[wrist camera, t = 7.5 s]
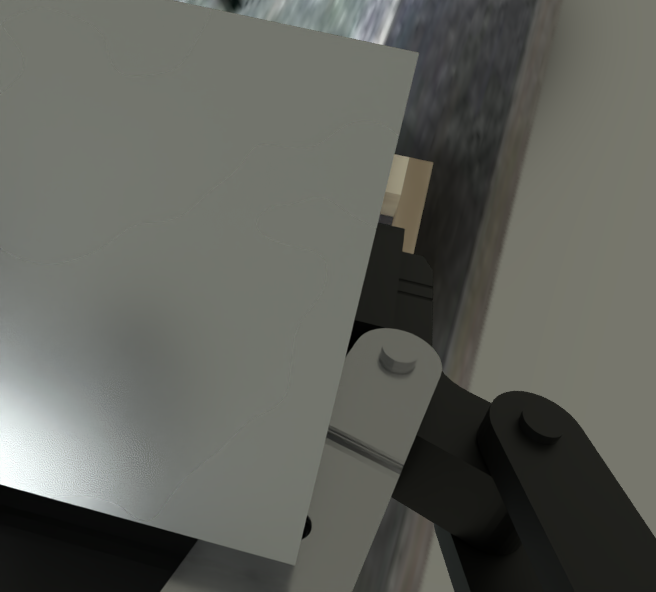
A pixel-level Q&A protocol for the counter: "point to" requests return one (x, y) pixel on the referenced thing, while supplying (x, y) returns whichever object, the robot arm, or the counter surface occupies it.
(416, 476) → the robot arm
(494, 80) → the counter surface
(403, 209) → the post base
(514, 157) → the counter surface
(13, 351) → the square post
